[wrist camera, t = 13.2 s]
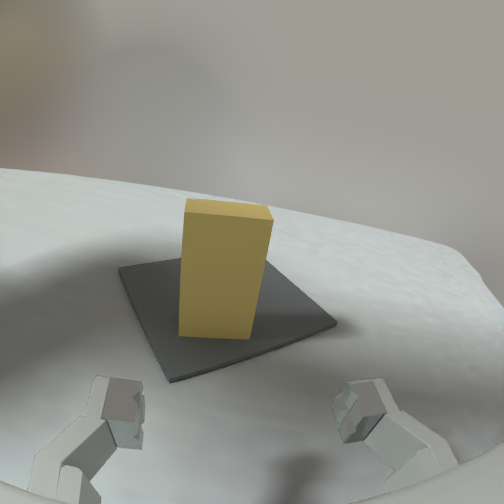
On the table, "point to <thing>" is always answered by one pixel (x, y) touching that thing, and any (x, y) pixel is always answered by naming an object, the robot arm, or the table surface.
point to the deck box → (222, 267)
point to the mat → (215, 349)
